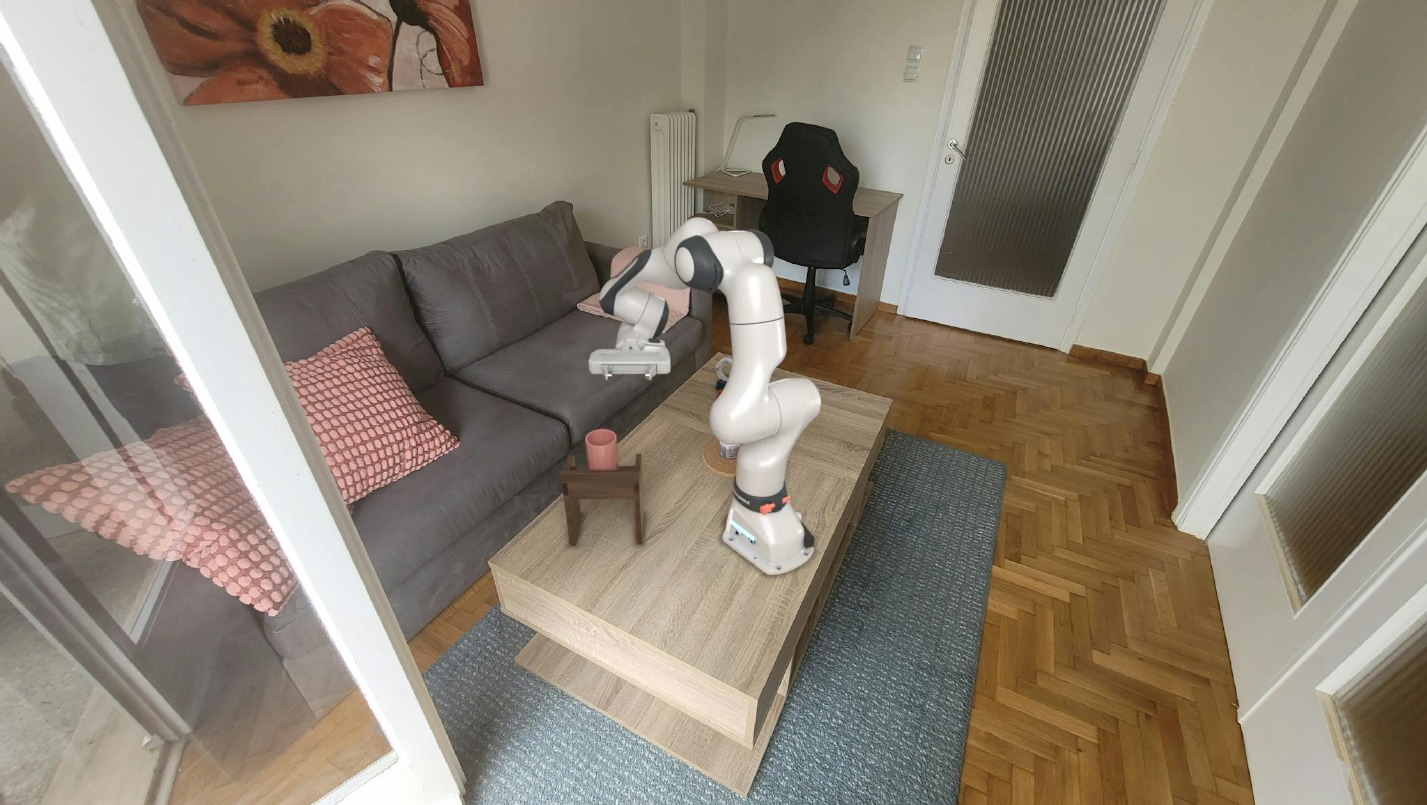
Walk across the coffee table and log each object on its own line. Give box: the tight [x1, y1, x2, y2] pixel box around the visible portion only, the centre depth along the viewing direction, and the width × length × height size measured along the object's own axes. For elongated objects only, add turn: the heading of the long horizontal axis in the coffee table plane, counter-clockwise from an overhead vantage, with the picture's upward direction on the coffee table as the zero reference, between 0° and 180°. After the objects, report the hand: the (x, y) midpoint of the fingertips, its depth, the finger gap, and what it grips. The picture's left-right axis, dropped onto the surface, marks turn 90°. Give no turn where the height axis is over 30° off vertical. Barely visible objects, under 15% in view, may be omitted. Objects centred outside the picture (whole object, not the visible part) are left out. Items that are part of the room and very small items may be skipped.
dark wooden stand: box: [559, 453, 645, 547], centre depth 133 cm, size 10×16×21 cm, turn 93°
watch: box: [714, 356, 732, 391], centre depth 194 cm, size 6×8×11 cm
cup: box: [584, 428, 619, 470], centre depth 129 cm, size 7×7×10 cm
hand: (628, 377), depth 140 cm, fingers open, 8 cm apart
